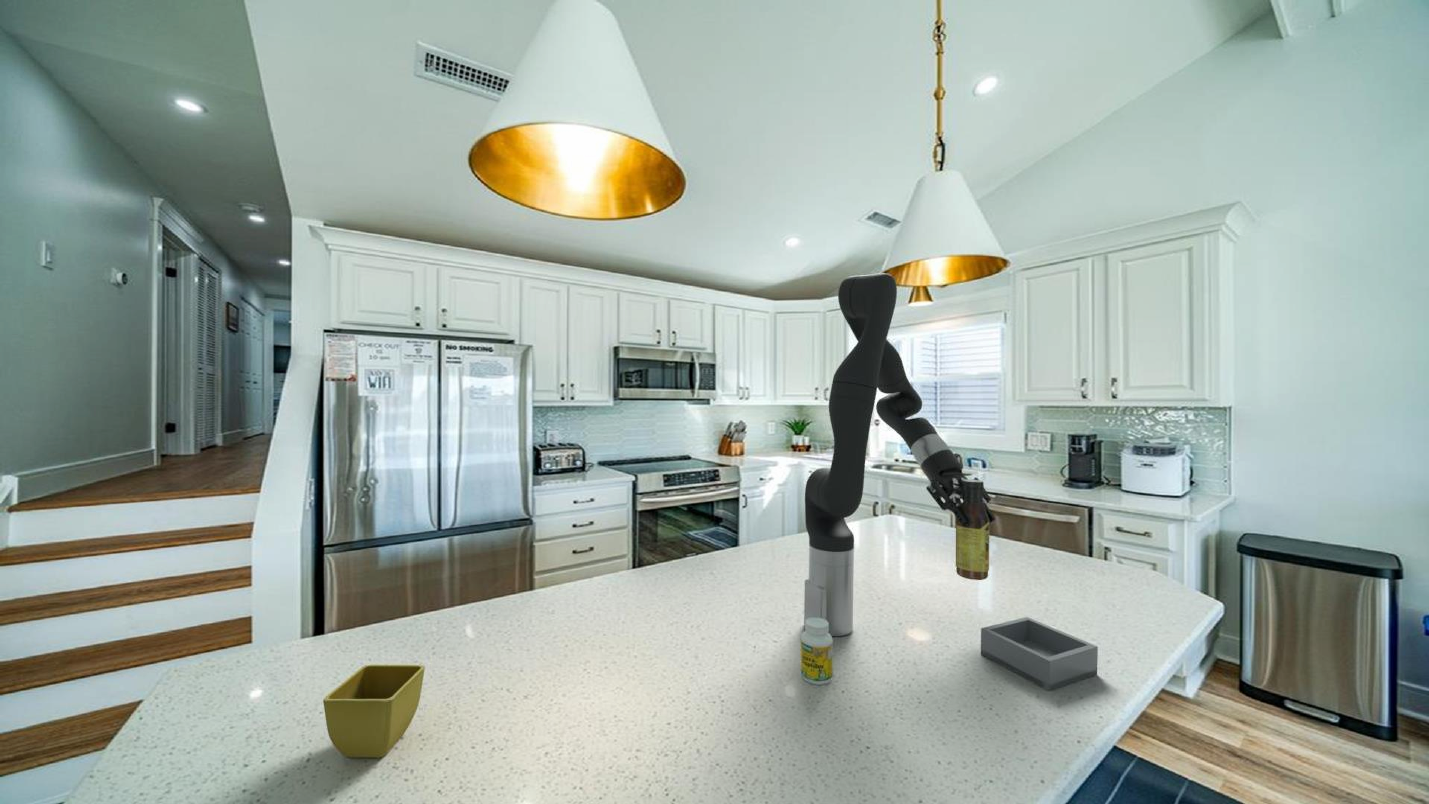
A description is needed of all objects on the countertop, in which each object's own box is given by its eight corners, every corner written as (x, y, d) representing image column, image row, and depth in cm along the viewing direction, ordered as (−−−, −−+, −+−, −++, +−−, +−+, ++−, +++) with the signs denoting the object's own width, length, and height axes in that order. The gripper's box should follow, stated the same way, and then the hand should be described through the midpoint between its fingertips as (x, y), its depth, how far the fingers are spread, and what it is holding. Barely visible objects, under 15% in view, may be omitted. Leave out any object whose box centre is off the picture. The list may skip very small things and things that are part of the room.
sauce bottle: (993, 582, 102) (995, 484, 102) (959, 580, 103) (961, 482, 103) (982, 571, 109) (985, 478, 108) (951, 569, 110) (953, 477, 109)
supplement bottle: (836, 674, 89) (836, 619, 89) (827, 689, 85) (827, 632, 85) (806, 666, 92) (807, 613, 92) (796, 680, 87) (796, 624, 87)
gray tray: (1049, 691, 85) (1049, 661, 85) (980, 654, 97) (981, 628, 97) (1097, 674, 90) (1097, 646, 90) (1026, 641, 102) (1026, 617, 102)
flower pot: (426, 725, 74) (426, 663, 74) (390, 768, 66) (390, 699, 66) (364, 725, 74) (365, 664, 74) (320, 769, 65) (320, 700, 65)
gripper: (921, 449, 110) (967, 516, 99) (968, 447, 115) (1016, 511, 105) (902, 470, 115) (944, 536, 104) (948, 467, 120) (992, 530, 110)
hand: (980, 523), depth 104 cm, fingers closed on sauce bottle, 6 cm apart
